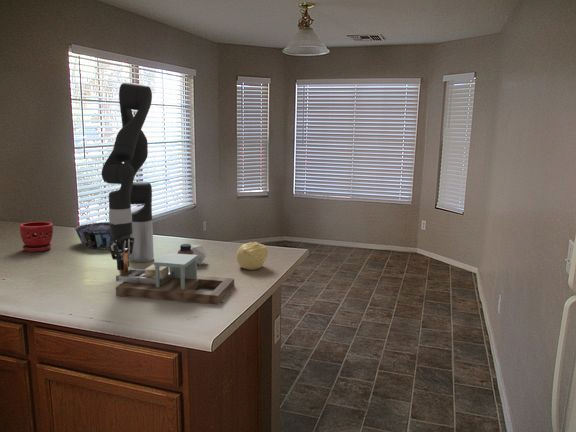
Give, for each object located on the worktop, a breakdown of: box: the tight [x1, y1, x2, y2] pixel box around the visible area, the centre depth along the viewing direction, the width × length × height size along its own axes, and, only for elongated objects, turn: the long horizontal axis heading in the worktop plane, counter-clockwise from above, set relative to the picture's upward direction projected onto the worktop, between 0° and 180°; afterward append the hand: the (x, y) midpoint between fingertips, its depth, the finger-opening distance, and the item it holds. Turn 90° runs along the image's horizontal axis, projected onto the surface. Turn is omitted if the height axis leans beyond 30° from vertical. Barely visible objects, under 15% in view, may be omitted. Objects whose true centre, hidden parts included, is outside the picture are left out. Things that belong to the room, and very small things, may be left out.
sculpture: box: [236, 241, 269, 271], centre depth 194 cm, size 11×12×11 cm
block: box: [144, 263, 169, 278], centre depth 166 cm, size 6×6×5 cm
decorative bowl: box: [74, 221, 114, 250], centre depth 228 cm, size 26×28×10 cm
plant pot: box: [19, 221, 54, 253], centre depth 215 cm, size 13×13×12 cm
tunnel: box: [153, 252, 198, 289], centre depth 165 cm, size 11×12×9 cm
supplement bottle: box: [177, 243, 193, 255], centre depth 185 cm, size 6×6×11 cm
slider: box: [115, 252, 173, 285], centre depth 167 cm, size 18×9×9 cm, turn 80°
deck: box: [115, 275, 235, 305], centre depth 166 cm, size 36×18×3 cm, turn 80°
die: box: [190, 244, 207, 266], centre depth 198 cm, size 8×9×10 cm
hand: (123, 268), depth 168 cm, fingers closed on slider, 3 cm apart
